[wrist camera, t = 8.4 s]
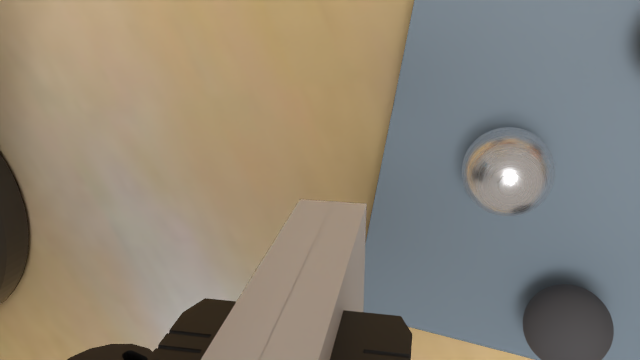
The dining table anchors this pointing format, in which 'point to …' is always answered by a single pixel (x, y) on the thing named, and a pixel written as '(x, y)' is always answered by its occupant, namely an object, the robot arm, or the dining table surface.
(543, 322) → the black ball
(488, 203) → the steel ball
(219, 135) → the dining table surface
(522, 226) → the grey flat board
